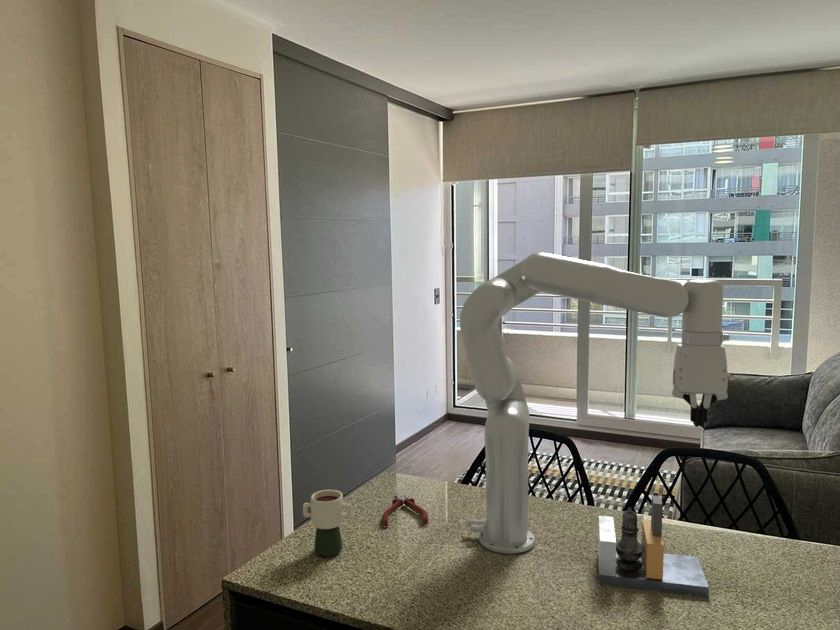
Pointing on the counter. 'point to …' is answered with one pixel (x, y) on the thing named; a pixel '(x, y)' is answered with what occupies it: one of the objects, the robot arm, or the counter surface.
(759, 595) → the counter surface
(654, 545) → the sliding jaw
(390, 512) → the pliers
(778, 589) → the counter surface
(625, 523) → the dark grey chess piece
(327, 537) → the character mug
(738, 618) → the counter surface
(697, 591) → the vise
